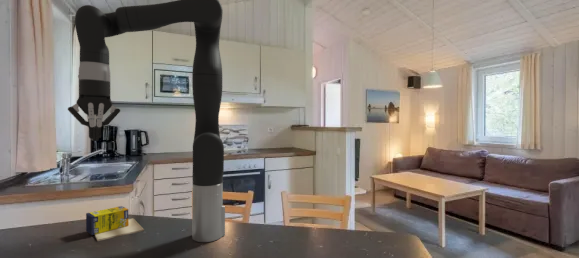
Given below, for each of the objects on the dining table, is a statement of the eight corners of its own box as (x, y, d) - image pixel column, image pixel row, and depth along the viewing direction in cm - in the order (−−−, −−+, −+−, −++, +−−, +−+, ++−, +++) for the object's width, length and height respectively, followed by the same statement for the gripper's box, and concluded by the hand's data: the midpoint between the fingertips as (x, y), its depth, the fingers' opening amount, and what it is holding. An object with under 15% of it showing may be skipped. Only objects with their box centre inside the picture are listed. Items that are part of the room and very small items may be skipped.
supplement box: (91, 216, 89) (128, 208, 98) (85, 213, 93) (121, 205, 101) (92, 235, 89) (129, 225, 98) (85, 231, 93) (121, 222, 102)
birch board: (133, 219, 106) (133, 218, 106) (144, 230, 95) (144, 229, 95) (90, 228, 97) (90, 226, 97) (97, 241, 86) (97, 239, 86)
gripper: (66, 75, 74) (67, 142, 75) (124, 81, 83) (124, 140, 84) (64, 78, 80) (64, 140, 80) (118, 83, 89) (118, 139, 89)
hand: (95, 140), depth 82 cm, fingers closed
